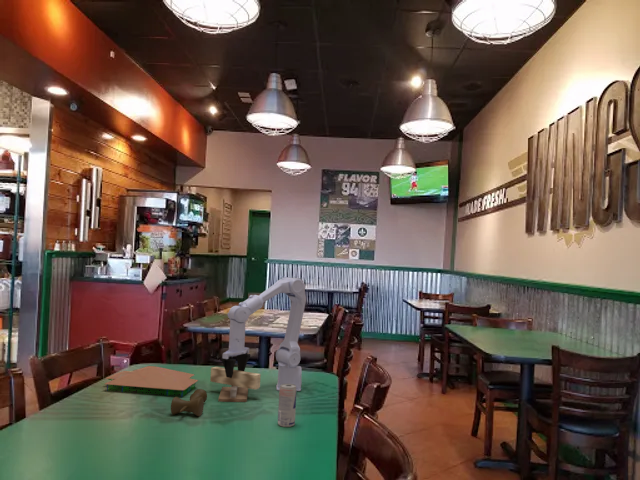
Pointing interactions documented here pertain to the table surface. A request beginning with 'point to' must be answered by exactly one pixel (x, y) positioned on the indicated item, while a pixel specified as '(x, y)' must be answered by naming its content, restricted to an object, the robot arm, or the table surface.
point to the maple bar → (236, 378)
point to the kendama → (190, 403)
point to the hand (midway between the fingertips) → (235, 375)
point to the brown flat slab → (152, 379)
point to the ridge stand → (233, 394)
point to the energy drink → (287, 405)
